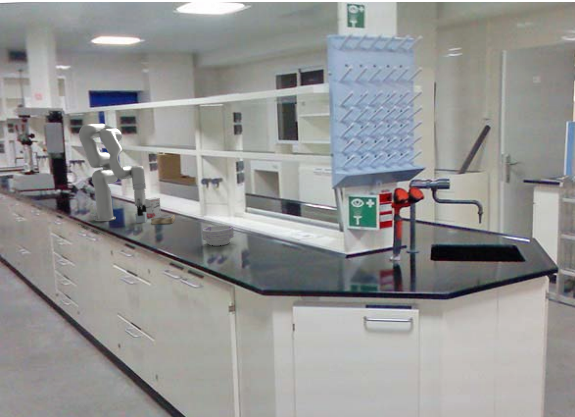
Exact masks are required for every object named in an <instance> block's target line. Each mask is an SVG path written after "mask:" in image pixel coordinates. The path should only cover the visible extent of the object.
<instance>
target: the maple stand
mask: <svg viewBox="0 0 575 417" xmlns="http://www.w3.org/2000/svg"><path fill="white" fill-rule="evenodd" d="M150 221H151V225H163V224H164V225H165V224H173V223H174V222H175V221H176V214H161V215H156V216H154V217H152V218H151V220H150Z"/></svg>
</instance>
